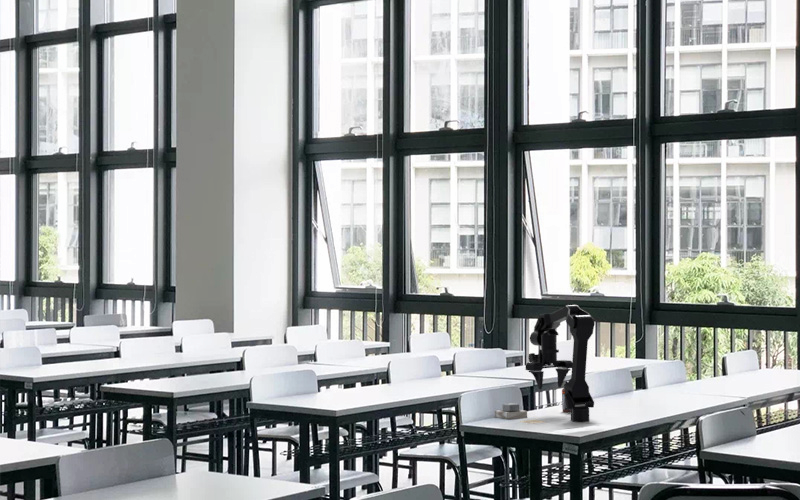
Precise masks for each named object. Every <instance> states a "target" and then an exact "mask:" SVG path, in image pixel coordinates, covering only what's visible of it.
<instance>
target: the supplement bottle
mask: <svg viewBox="0 0 800 500" xmlns="http://www.w3.org/2000/svg"><path fill="white" fill-rule="evenodd" d="M565 383H566V382H563V388H562V389H561V399H562V400H561V404H562V405H561V406H562V407H561V408H562V412H563V413H566V412H571V409H568V408H567V406H566V402H565V396H564V394H565V392H564V391H565Z"/></svg>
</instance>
